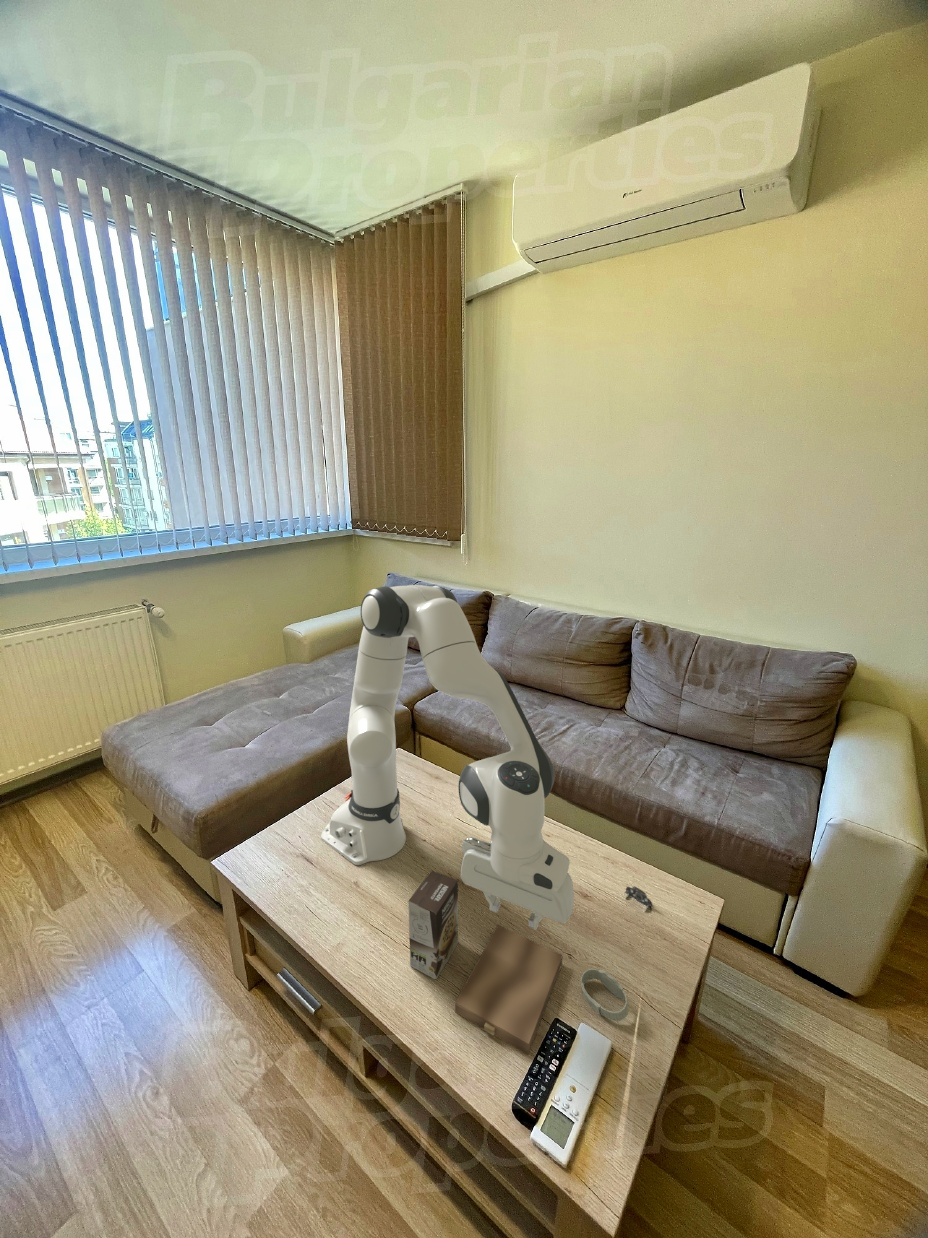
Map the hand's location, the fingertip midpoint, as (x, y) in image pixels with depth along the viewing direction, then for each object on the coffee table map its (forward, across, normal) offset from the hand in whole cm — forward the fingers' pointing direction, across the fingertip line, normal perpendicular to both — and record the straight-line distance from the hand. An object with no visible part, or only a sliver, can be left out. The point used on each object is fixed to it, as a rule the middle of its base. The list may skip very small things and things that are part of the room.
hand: (513, 917), depth 88 cm
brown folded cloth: (+17, 0, 0) cm, 17 cm away
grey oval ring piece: (+17, +16, +5) cm, 24 cm away
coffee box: (+17, -16, -1) cm, 23 cm away
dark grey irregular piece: (+18, +22, +29) cm, 41 cm away
